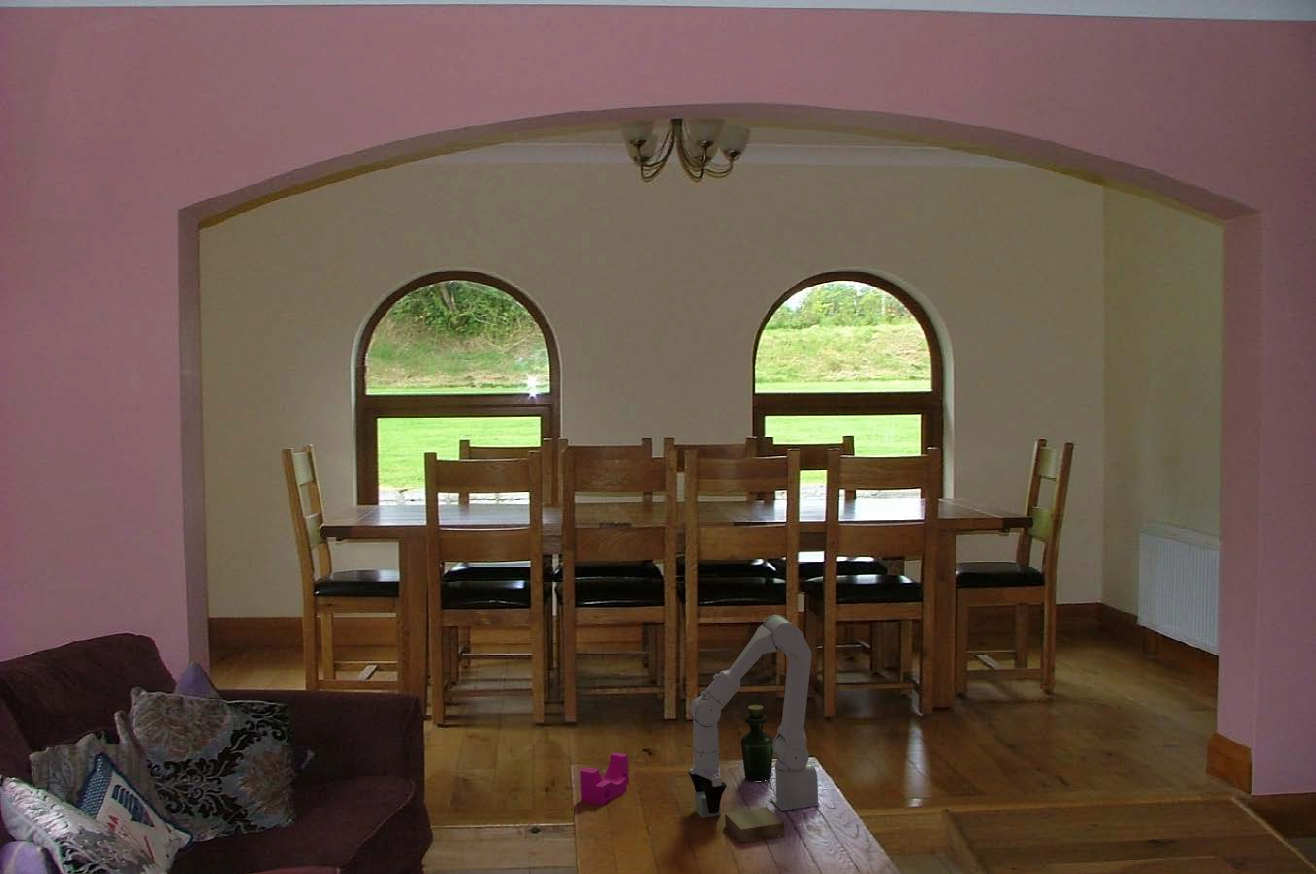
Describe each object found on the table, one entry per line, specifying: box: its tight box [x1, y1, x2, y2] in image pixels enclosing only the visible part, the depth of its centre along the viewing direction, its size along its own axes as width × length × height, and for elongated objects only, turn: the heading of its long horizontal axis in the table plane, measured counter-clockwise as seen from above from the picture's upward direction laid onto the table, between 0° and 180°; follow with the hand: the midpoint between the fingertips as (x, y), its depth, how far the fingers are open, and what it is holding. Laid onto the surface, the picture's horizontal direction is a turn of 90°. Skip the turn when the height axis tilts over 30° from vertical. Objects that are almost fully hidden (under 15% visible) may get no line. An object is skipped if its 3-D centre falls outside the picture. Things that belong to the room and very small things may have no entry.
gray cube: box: [694, 791, 722, 819], centre depth 280 cm, size 4×4×4 cm
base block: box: [724, 806, 785, 844], centre depth 268 cm, size 10×10×3 cm
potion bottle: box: [740, 704, 774, 782], centre depth 301 cm, size 8×8×18 cm
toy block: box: [579, 752, 630, 806], centre depth 295 cm, size 15×6×8 cm, turn 148°
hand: (708, 806), depth 280 cm, fingers open, 7 cm apart
